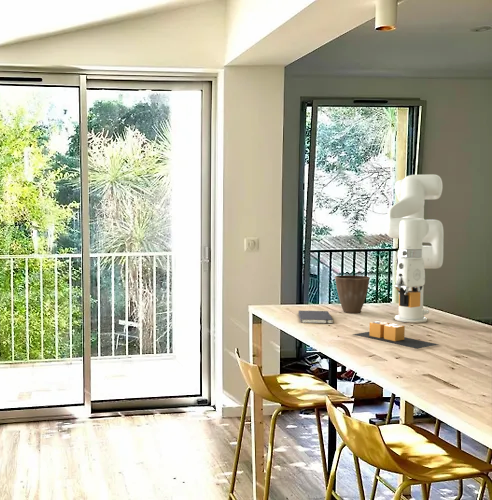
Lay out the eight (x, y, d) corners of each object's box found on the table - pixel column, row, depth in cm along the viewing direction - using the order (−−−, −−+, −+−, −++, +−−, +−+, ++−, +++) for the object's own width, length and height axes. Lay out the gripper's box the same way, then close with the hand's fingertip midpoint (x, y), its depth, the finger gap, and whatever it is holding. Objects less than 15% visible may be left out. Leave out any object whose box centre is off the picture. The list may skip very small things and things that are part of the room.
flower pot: (332, 308, 303) (332, 274, 302) (365, 309, 301) (365, 275, 300) (337, 314, 288) (337, 278, 287) (372, 314, 286) (372, 278, 285)
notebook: (298, 313, 291) (301, 322, 270) (298, 310, 290) (301, 319, 270) (327, 314, 288) (332, 323, 267) (327, 311, 288) (333, 319, 267)
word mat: (374, 332, 249) (374, 330, 249) (439, 345, 225) (439, 344, 225) (352, 335, 243) (352, 334, 243) (416, 350, 219) (416, 348, 219)
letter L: (378, 334, 243) (378, 320, 243) (389, 336, 239) (389, 322, 239) (369, 335, 241) (369, 321, 240) (380, 338, 236) (380, 324, 236)
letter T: (408, 304, 232) (408, 290, 231) (420, 306, 228) (420, 291, 227) (398, 305, 229) (399, 291, 229) (410, 307, 225) (411, 292, 225)
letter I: (392, 337, 238) (393, 323, 237) (404, 339, 233) (404, 325, 233) (383, 338, 235) (383, 324, 235) (395, 341, 231) (395, 326, 231)
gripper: (403, 256, 220) (402, 309, 221) (435, 253, 228) (434, 304, 229) (385, 254, 226) (384, 306, 227) (417, 252, 235) (415, 302, 236)
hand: (409, 304), depth 228 cm, fingers closed on letter T, 5 cm apart
